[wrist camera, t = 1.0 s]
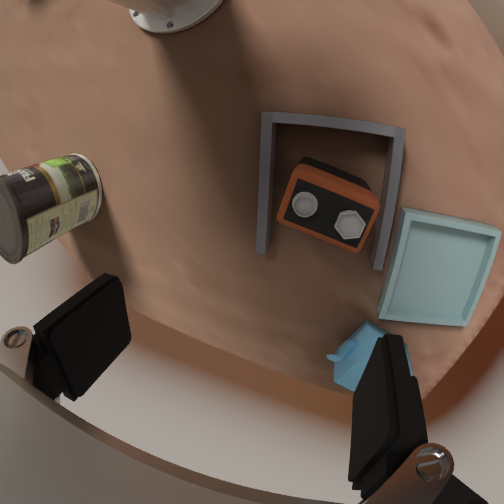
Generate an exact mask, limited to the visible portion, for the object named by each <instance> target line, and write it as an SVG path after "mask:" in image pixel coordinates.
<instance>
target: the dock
mask: <svg viewBox="0 0 504 504" xmlns="http://www.w3.org/2000/svg"><path fill="white" fill-rule="evenodd" d="M277 123H286V124H299V125H311V126H320V127H329V128H338V129H345V130H353V131H359V132H366V133H372V134H378V135H384V136H389V138H388V148H387V157H386V166H385V174H384V181H383V188H382V195H381V202H380V206H381V207H380V210H379V214H378V220H377V225H376V231H375V236H374V241H373V246H372V251H371V255H370V261H371V265H372V269H374V270H381V271H382V268H383V264H384V260H385V255H386V251H387V247H388V242H389V237H390V232H391V228H392V222H393V217H394V212H395V206H396V200H397V194H398V188H399V181H400V174H401V167H402V158H403V150H404V140H405V128H400V127H395V126H390V125H384V124H379V123H373V122H367V121H360V120H353V119H346V118H339V117H330V116H321V115H311V114H299V113H285V112H265V111H262V115H261V139H260V163H259V186H258V209H257V232H256V254H264V255H265V254H266V252H267V250H268V248H269V246H270V234H271V218H272V202H273V184H274V166H275V147H276V127H277Z"/></svg>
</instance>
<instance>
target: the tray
mask: <svg viewBox="0 0 504 504" xmlns="http://www.w3.org/2000/svg"><path fill="white" fill-rule="evenodd" d="M501 233H502V232H501V231H500V230H499V229H498V228H496V227H495V226H493V225H489V224H485V223H481V222H476V221H472V220H467V219H463V218H458V217H453V216H449V215H444V214H439V213H434V212H428V211H423V210H418V209H412V208H407V207H401V210H400V216H399V221H398V226H397V231H396V235H395V240H394V245H393V249H392V253H391V257H390V262H389V266H388V270H387V274H386V277H385V281H384V285H383V288H382V292H381V296H380V299H379V302H378V306H377V313H378V319H386V320H395V321H405V322H415V323H426V324H438V325H451V326H464V327H467V325H468V323H469V321H470V319H471V317H472V315H473V312H474V310H475V308H476V305H477V303H478V301H479V298H480V296H481V293H482V291H483V288H484V285H485V283H486V280H487V277H488V275H489V272H490V269H491V266H492V263H493V260H494V257H495V254H496V251H497V247H498V244H499V241H500V237H501Z"/></svg>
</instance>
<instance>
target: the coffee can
mask: <svg viewBox="0 0 504 504" xmlns="http://www.w3.org/2000/svg"><path fill="white" fill-rule="evenodd" d="M101 202H102V186H101V181H100V177H99V175H98V172H97V170H96V168H95V166H94V165H93V163H92V162H91V161H90V160H89V159H88V158H87V157H85V156H83V155H81V154H77V153H73V154H70V155H68V156H64V157H60V158H56V159H53V160H49V161H46V162H42V163H39V164H35V165H32V166H29V167H25V168H22V169H19V170H16V171H13V172H10V173H7V174H4V175H2V176H0V255H1V256H2V257H3V258H4V259H5V260H6V261H7V262H9V263H11V264H17V263H18V262H20V261H21V260H22V259H23V258H24V257H26V256H27V255H29V254H31V253H32V252H34V251H36V250H37V249H39V248H41V247H43V246H44V245H46V244H48V243H49V242H51V241H53V240H55V239H56V238H58V237H60V236H62V235H64V234H65V233H67V232H69V231H71V230H73V229H74V228H76V227H78V226H80V225H82V224H84V223H86V222H89V221H91V220H92V219H94V218H95V216H96V215H97V214H98V212H99V209H100V206H101Z"/></svg>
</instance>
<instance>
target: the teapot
mask: <svg viewBox="0 0 504 504" xmlns="http://www.w3.org/2000/svg"><path fill="white" fill-rule="evenodd" d="M386 333H387V334H389V333H388V332H386V331H384V330H383V329H381V328H380V327H378V326H376V325H375V324H373V323H372V322H370V321H368V320H367V319H366V320H365V321H364V322H363V323H362V324H361V325H360V326H359V327H358V328H357V329H356V330H355V331H354V332H353V333H352V334H351V335H350V336H349V337H348V338H347V339H346V340H345V341H344V342H343V343H342V344H341V345H340V346H339V347H338V348H337V349H336V350H335V354H328V355H327V356H326V357H327V358H328V359H329V360H331V361H334V382H336V383H337V384H339V385H341V386H343V387H345V388H347V389H349V390H351V391H353V392H355V389H356V387H357V385H358V383H359V381H360V378H361V376H362V374H363V372H364V369H365V367H366V365H367V363H368V360H369V358H370V355H371V353H372V351H373V348H374V346H375V343H376V341H377V339H378V337H383V336H384V334H386ZM404 346H405V351H406V355H407V359H408V364H409V369H410V374H411V376H412V375H413V372H412V367H411V362H410V358H409V354H408V350H407V345H406V344H405V343H404Z"/></svg>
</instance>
